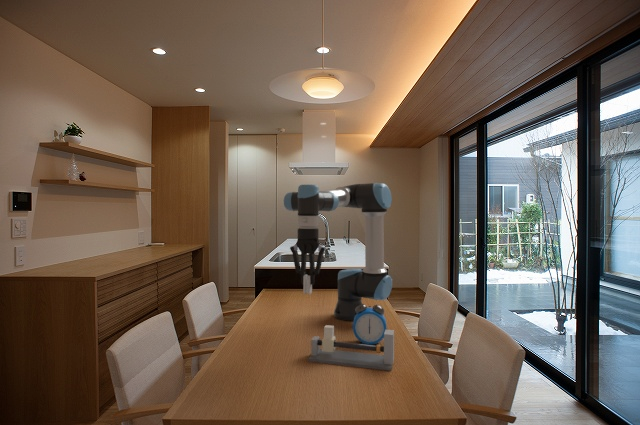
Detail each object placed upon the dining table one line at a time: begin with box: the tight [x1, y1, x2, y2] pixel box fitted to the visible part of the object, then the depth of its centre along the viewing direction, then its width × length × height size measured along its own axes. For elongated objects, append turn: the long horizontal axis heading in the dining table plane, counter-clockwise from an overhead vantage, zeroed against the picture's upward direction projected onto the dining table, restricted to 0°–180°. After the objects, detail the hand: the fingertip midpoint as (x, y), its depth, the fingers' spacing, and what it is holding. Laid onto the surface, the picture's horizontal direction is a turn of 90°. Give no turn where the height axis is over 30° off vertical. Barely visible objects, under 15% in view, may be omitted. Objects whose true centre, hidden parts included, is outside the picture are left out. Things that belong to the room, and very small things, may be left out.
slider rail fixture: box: [308, 329, 395, 372], centre depth 130 cm, size 10×28×11 cm, turn 75°
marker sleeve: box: [321, 324, 337, 352], centre depth 132 cm, size 4×4×8 cm
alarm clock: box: [352, 303, 388, 345], centre depth 147 cm, size 13×6×15 cm, turn 81°
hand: (307, 293), depth 134 cm, fingers closed
